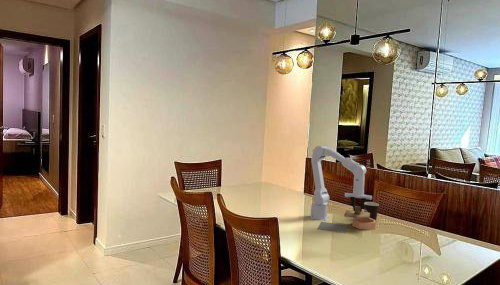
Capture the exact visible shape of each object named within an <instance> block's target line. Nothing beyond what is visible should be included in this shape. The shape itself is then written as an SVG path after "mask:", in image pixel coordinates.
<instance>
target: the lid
mask: <svg viewBox="0 0 500 285" xmlns="http://www.w3.org/2000/svg"><path fill="white" fill-rule="evenodd" d="M360 209H361V205H355V211H353V210H350V209H346V210H345V212H344V214H343V215H344V217H345V218H351V219H353V218H360V219H368V220H369V217H370V213H368V212H364V211H362V212H360Z"/></svg>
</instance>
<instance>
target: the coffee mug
mask: <svg viewBox="0 0 500 285" xmlns="http://www.w3.org/2000/svg"><path fill="white" fill-rule="evenodd" d="M379 206H380V204H379V203H376V202H373V201H365V203H364V205H363V210H364V211H363V212H368V213H370V217H369V218H371V219H374V220H376V221H377V218H378V212H379Z"/></svg>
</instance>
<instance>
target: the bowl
mask: <svg viewBox="0 0 500 285" xmlns="http://www.w3.org/2000/svg"><path fill="white" fill-rule="evenodd" d="M376 223H377V219H376V220H374V219H371V218H369V220H368V219H360V218H352V227H354V228H357V229H360V230H367V231H371V230H376Z"/></svg>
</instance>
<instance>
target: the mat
mask: <svg viewBox="0 0 500 285" xmlns="http://www.w3.org/2000/svg"><path fill="white" fill-rule="evenodd" d="M348 226H349V225H348V224H341V223H334V222H327V221H320V223H319V225H318V227H317V228H316V230H320V231H325V232H333V233H341V234H347V230H348Z"/></svg>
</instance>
